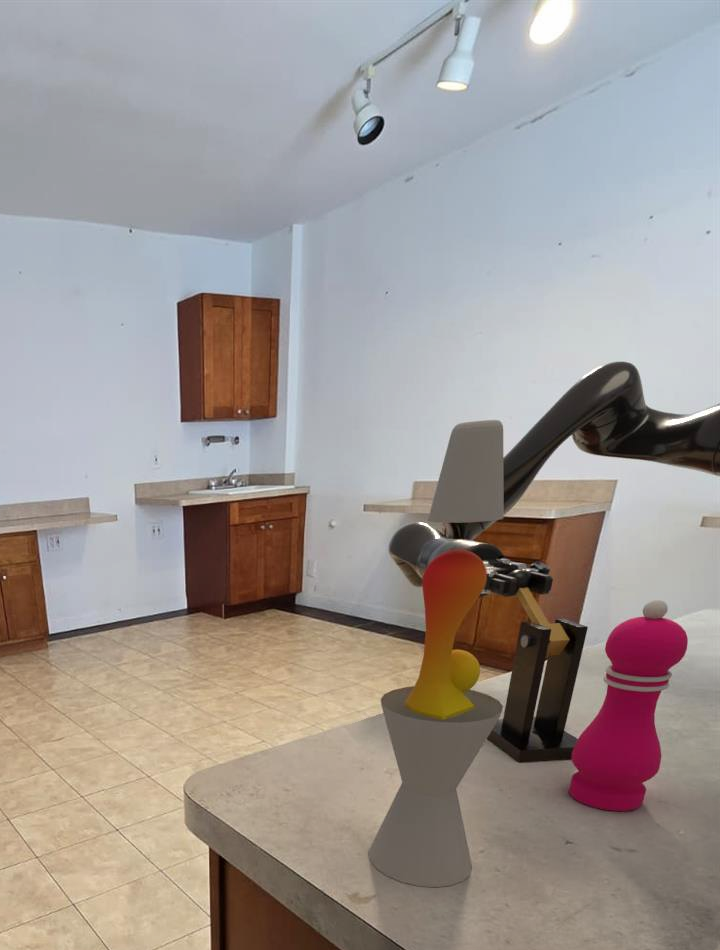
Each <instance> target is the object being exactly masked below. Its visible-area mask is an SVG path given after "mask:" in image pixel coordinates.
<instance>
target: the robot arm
mask: <svg viewBox="0 0 720 950" xmlns="http://www.w3.org/2000/svg"><path fill="white" fill-rule="evenodd" d="M570 437H572V440H573V443H574V444H575V445H576V447H577V448H578V449H579V450H580V451H582V452H583V453H586V454H588V455H589V454H590V455H593V456H600V457H607V458H618V459H627V460H636V461H637V460H638V461H646V462H651V463H658V464H663V465H667V466H671V467H677V468H683V469H687V470H688V469H689V470H691V471H692V470H693V471H697V472H701V473H705V474H708V475H711V476H712V475H713V476H716V477H720V403H717V404H714V405H712V406H709V407H706V408H704V409H702V410H699V411H696V412H692V413H686V414H685V413H684V414H683V413H682V414H680V413H673V412H666V411H661V410H657V409H654V408H651V407H649V406H648V405H647V404H646V400H645V396H644V389H643V384H642V378H641V375H640V373H639V370H638V368H637V367H636V366H635V365H634V364H633V363H632V362H627V361H612V362H609V363H606V364H602V365H600V366H598V367H596V368H594V369H593V370H591V371H590V372H588V373H587V374H585V375H583V377H581V378H579V380H577V381H576V382H575V383H574V384H573V385H571V387H570V388H569V389H568V390H567V391H566V392H565V393H564V394H563V395H562V396H561V397H560V398H559V399H558V400H557V401H556V402H555V403H554V404H553V406H551V407H550V409H549V410H547V412H546V413H544V415H543V416H542V417H541V418H540V419H539V420H538V421H537V422H536V423H535V424H534V425H533V426H532V427H531V428H530V429H529V430H528V431H527V432H526V434H524V435H523V437H522V438H521V439H520V440H519V441H518V442H517V443H516V444H515V445H514V446H513V447H512V448H511V449H510V450H509V451H508V452H507V453H506V454H505V456H503V487H504V516H505V515H506V514H507V513H508V512H510V510H512V508H514V506H515V505H516V504H517V503H518V502H519V501H520V500H521V498H522V497H523V496H524V495H525V493H526V492H527V490H528V489H529V487H530V486H531V484H532V483H533V481H534V480H535V478H536V477H537V475H538V474H539V472H540V471H541V469H542V468H543V466H544V465H545V464H546V463H547V461H548V460H549V459H550V457H552V455H553V454H554V453H555V451H556V450H558V448H559V447H560V446H561V445H562V444H564V442H565V441H566V440H568V439H569V438H570ZM496 522H498V520H493V521H482V522H471V523H466V522H461V523H443V525H444V528H445V533H446V534H444V533H443V532H441V531H440V530H439V529H437V528H436V527H434V526H432V525H431V524H430V523H429V524H428V523H426V522H423V521H422V522H420V521H419V522H418V521H417V522H416V521H415V522H411V523H408V524H406V525H403V526H401V527H400V528H399V529H398V530H396V531H395V532H394V534H393V535H392V536H391V538H390V540H389V542H388V553H389V556H390V558H391V559H392V561H393V562H394V563H395V565H396V566H397V567H398V569H399V570H400V571H401V573H402V574H403V576H404V577H405V578H406V580H407V581H408V582H409V583H410V584H411V585H412V586H413V587H417V588H422V579H423V575H424V572H425V570H426V568H427V566H428V565H429V563H430V562H431V561H432V560H433V559H434V558H436V557H437V556H438V555H440V554H442V553H444V552H446V551H450V550H455V549H462V550H467V551H470V552H472V553H474V554H476V555H477V556H478V557H479V558H480V559H481V560H482V561H483V563H484V565H485V567H486V571H487V580H486V585H485V587H484V590H483V591H482V593H481V594H480V596H479V597H478V598H477V600H479V599H483V598H485V597H487V596H489V595H491V594H495V595H499V596H503V597H505V598H513V596H514V595H515V590H516V585H517V579H516V578H514V577H510V576H507V575H508V574H509V573H511V572H512V571H515V570H524V571H527V572H528V573H529V574H530V575H531V576H532V580H533V583H532V586H531V588H530V592H531V593H532V594H533V593H534V594H537V595H541V596H544V595H549V594H550V592H551V590H552V586H553V581H554V578H553V577H552V575H550V572H551V568H550V567H549V566H548V565H547V564H545V563H544V562H541V561H536V562H533V563H531V564H529V567H528V565H527V564H526V563H524V562H523V563H522V562H515V561H512V560H511V559H508V558H505V555H504V553H503V552H502V550H501V549H499V547H497V546H495V545H494V544H492V543H491V544H490V543H486V542H481V541H477V540H475V538H477V537H478V536H479V535H480V534H482V533H483V532H485V531H486V530H487V529H488V528H489V527H491V526H492V525H493V524H494V523H496Z"/></svg>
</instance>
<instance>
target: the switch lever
mask: <svg viewBox="0 0 720 950" xmlns="http://www.w3.org/2000/svg"><path fill="white" fill-rule="evenodd" d="M507 576H510V577H514V578H516V579H517V585H516V590H515V595H514V596H513V597H514V598H515V597H516V598H518V600H519V602H520V604H521V606H522V608H523V609H524V611H525V612H526V614H527V616H528V618H529V621H531V622H533V623H536V624H539V625H541V626H544V627H547V628H550V629H551V634H550V639H549V644H548V649H547V653H546V657H548V656H550V655H560V654H561V652H562V651H563V649H564V648H565V646H566V645H567V644H568V642H569V641H570V639H569V637H568V636H567V634H566V633H565V631H564V629H563V628H562V626H561V624H560V623H555V622H553V623H550V621H548V619H547V617H546V615H545V613H544V612H543V610H542V609H541V607H540V606H539V603H538V602H537V600H536V598H535V597H534V594H533V592H530V588H531V586H532V583H533V580H532V576H531V575H530V574H529V573H528V572H527V571H524V570H515V571H512V572H511V573H509V574H508V575H507ZM513 597H512V598H513Z"/></svg>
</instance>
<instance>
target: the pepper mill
mask: <svg viewBox="0 0 720 950" xmlns="http://www.w3.org/2000/svg"><path fill="white" fill-rule="evenodd" d="M668 609H669V607H668V604H667V603H666V602H665V601H663V600H662V599H653V600H650V601H648V602H647V603H645V604H644V606H643V607H642V615H643V616H637V617H633V618H629V619H626V620H624V621H623V622H621V623H619V624H618V625H616V626H615V627H614V628H613V630H612V631H611V632H610V633H609V635H608V637H607V639H606V641H605V647H604V648H605V654H606V656H607V658H608V660H609V661H610V663H611V665H609V666H607V667H606V668H605V672H606V673H605V676H604V677H603V682H604V683H605V684H606V685H607V687H606V694H605V697H604V700H603V703H602V706H601V708H600V709H599V711H598V713H597V714H596V716H595V717H594V718H593V719H592V721H591V722H590V723H589V724H588V725H587V727H586V728H585V729H584V730H583V731H582V732H581V734H580V735H579V736H578V738H577V739H578V740H577V742H576V743H575V746H574V749H573V752H572V759H571V762H572V764H573V766H574V767H575V768H576V770H577V772H575V773H573V774H572V775H571V778H570V784H569V787H568V793H569V794H570V796H571V797H572V798H573V799H574V800H576V801H578V802H580V803H581V804H583V805H585V806H589V807H592V808H595V809H599V810H605V811H613V812H628V811H633V810H636V809H639V808H640V807H641V806H642V805H643V802H644V799H645V797H646V793H647V787H646V785H645V784H644V783H645V782H647V781H650V780H651V779H652V778H654V777H655V776H656V775H657V774H658V773H659V770H660V768H661V763H662V748H661V743H660V739H659V736H658V732H657V729H656V724H655V722H656V719H655V715H656V709H657V704H658V700H659V698H660V696H661V693H662V691H664V690H667V689H668V688H669V687H670V683H669V681H670V680H671V678H672V677H673V674H672V672H671V671H670V669H671V668H673V667H674V666H676V665H677V664H678V663H680V662H681V661H682V659H683V658H684V657H685V655H686V653H687V650H688V644H689V640H688V639H689V638H688V635H687V632H686V630H685V629H684V627H683V626H682V625H680V624H679V623H677V622H676V621H674V620H673V619H669V618H666V617H664V616H666V615H667V613H668Z"/></svg>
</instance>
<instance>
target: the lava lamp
mask: <svg viewBox="0 0 720 950" xmlns="http://www.w3.org/2000/svg"><path fill="white" fill-rule="evenodd" d="M503 458H504V424H503V423H502V421H500V420H499V419H487V420H485V419H484V420H475V421H467V422H466V421H465V422H460V423H457V424H456V425H455V426H454V427H453V428H452V430H451V433H450V436H449V440H448V444H447V447H446V451H445V454H444V458H443V462H442V466H441V469H440V473H439V477H438V481H437V485H436V488H435V492H434V495H433V498H432V499H433V500H432V503H431V507H430V511H429V515H428V517H427V522H429V523H431V522H432V523H441V524H442V523H443V524H444V523H461V522H466V523H471V522H482V521H493V520H497V521H499V520H504V519H505V518H504V516H505V515H504V487H503ZM486 580H487V571H486V567H485V565H484V563H483V561H482V560H481V559H480V558H479V557H478V556H477V555H476V554H474V553H472V552H470V551H467V550H462V549H455V550H450V551H446V552H444V553H442V554H440V555H438V556H437V557H436V558H434V559H433V560H432V561H431V562H430V563H429V565H428V566H427V568H426V570H425V572H424V575H423V579H422V587H421V588H422V595H423V597H422V598H423V605H424V621H425V622H424V623H425V637H424V647H423V657H422V661H421V666H420V670H419V674H418V678H417V680H416V682H415V684H414V685H413V686H404V687H401V688H395V689H392V690H389V691H388V692H385V693H383V696H381V698H380V705H381V709H382V713H383V717H384V720H385V723H386V728H387V732H388V735H389V739H390V742H391V746H392V750H393V753H394V757H395V761H396V764H397V765H396V766H397V768H398V772H399V776H400V779H401V784H400V786H399V787H398V790H397V792H396V794H395V796H394V797H393V800H392V803H391V804H390V806H389V809H388V810H387V812H386V815H385V816H384V818H383V821H382V823H381V825H380V827H379V829H378V830H377V833H376V835H375V837H374V839H373V841H372V843H371V845H370V847H369V849H368V851H367V853H368V858H369V862H370V863H371V864H372V865H373V866H374V868H375V869H376V870H378V871H379V872H381V873H382V874H383V875H384V876H386V877H389V878H391V879H394V881H395V880H396V881H397V882H401V883H403V884H409V885H412V886H416V887H427V888H441V887H451V886H453V885H456V884H459V883H462V882H464V881H465V880H466V879H467V878H468V877H469V876H470V875H471V873H472V869H473V865H472V859H471V854H470V849H469V844H468V840H467V835H466V830H465V824H464V820H463V815H462V811H461V805H460V800H459V796H458V791H457V789H458V787H459V785H460V783H461V782H462V780H463V778H464V777H465V775H466V773H467V772H468V771H469V769H470V767H471V765H472V764H473V762H474V761H475V759H476V758H477V756H478V754H479V753H480V750H481V749H482V748H483V746H484V744H485V742H486V741H487V740H488V739H487V737H488V736H489V734H490V733H491V731H492V729H493V728H494V726H495V724H496V723H497V721H498V719H500V718H501V716H502V712H503V708H504V705H503V704H502V703H501V702H500V700H498V699H497V698H495V697H493V696H491V695H489V694H486V693H484V692H480V691H477V690H473V689H472V688H473V687H474V686H475V685H476V684H477V682H478V681H479V678H480V676H481V675H480V674H481V666H480V662H479V660H477V658H476V656H474V655H473V654H472V653H471V652H469V651H466V650H463V649H453V648H454V643H455V638H456V635H457V633H458V630H459V629H460V627H461V625H462V623H463V621H464V620H465V617H466V615H467V614H468V613H469V612H470V610H471V609H472V607H473V605H474V604H475V603H476V601H477V600H478V599H477V598H478V597H479V596H480V594H481V593H482V591H483V590H484V587H485V585H486Z"/></svg>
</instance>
